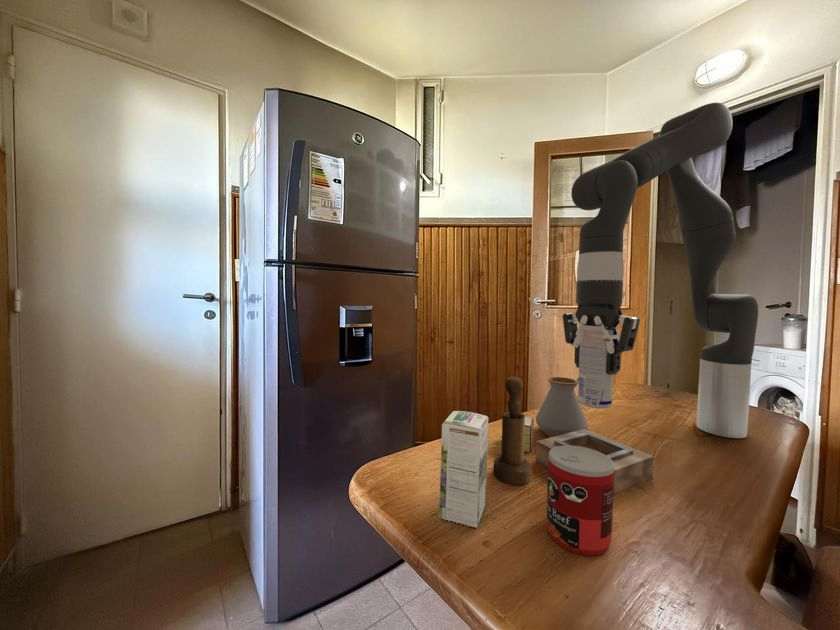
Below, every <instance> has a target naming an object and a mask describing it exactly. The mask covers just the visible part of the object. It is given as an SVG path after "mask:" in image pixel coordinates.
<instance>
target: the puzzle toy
mask: <svg viewBox="0 0 840 630" xmlns="http://www.w3.org/2000/svg"><path fill="white" fill-rule="evenodd" d="M534 421H535V420H534V418H533V417H530V416H525V427H524V453H526V452H527V453H531V452H532V449H533V443H534V424H535V423H534Z"/></svg>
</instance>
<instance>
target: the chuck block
mask: <svg viewBox="0 0 840 630" xmlns="http://www.w3.org/2000/svg"><path fill="white" fill-rule="evenodd" d="M535 444H536V450H535V453H536V454H535V462H537V463H538V464H541V465H542V466H544V467H545V468H547V469H548V456H549V452H550V450H551V449H552V448H554V447H557V446H564V445H571V446H580V447H585V448H589V449H593V450H596V451H598V452H600V453H602V454H604V455H606V456H608V457H609V458H610V459H611V460H612V461H613V463H614V495H616V494H618V493H619V492H622V491H624V490H627V489H629V488H632V487H634V486H637V485H639V484H641V483H644V482H647V481H649V480H652V479H653V474H654V455H652V454H649V453H647V452H643V451H641V450H639V449H636V448H633V447H631V446H628V445H626V444H623V443H621V442H618V441H616V440H613V439H610V438H608V437H606V436H603V435H601V434H598V433H596V432H594V431H591V430H588V429H587V430H586V429H582V430H578V431H574V432H570V433H566V434H562V435H558V436H555V437H548V438H543V439H540V440H536V443H535Z"/></svg>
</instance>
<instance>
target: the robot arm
mask: <svg viewBox="0 0 840 630" xmlns="http://www.w3.org/2000/svg"><path fill="white" fill-rule="evenodd" d="M732 130H733V116H732V113H731V111H730V109H729V107H728V106H726V104H723V103H722V102H710V103H707V104H704V105H701V106H698V107H696V108H694V109H692V110H689V111H686V112H684V113H682V114H680V115H677V116H675V117H672V118H670V119H669V120H667V121H666V122H665V123H663V124H662V126H661V128H660V132H659V136H657V137H654V138H652V139H651V138H650V139H649V140H646V141H645V142H642V143H641V144H639V145H637V146H635V147H632V148H630V149H629V150H627V151H625V152H624V153H622V154H621V155H619V156H618V157H616V158H615V159H612V160H610V161H608V162H606V163H603V164H600V165H598V166H596V167H594V168H591V169H589V170H587V171H585V172H583V173H582V174H580V175H579V176H578V177H577V178H576V180H575V181H574V182H573V185H572V187H571V191H570V192H571V199H572V202H573V204H574V205H575V206H576V207H577V208H578V209H579V210H580V209H581V210H583V211H594V210H598V209H599V211H598V212H597V215H596V216H595V217H594V218H592V219H591V220H589V221H587V222H585V223H584V224H582V226H581V227H580V232H579V243H578V245H579V246H578V247H579V248H578V249H579V250H578V260H577V267H576V291H575V292H576V293H575V302H576V304H577V309H576V311H575V312H571V313H570V312H568V313H563V315H562V323H563V331H564V339H565V343H566V344H569V345H571V346H573V348H574V364H575V366H576V368H577V369H579V357H580V330H581V327H582V326H581V325H588V326H601V327H603V328H602V330H603V333H604V335H603V340H604V341H606V347H607V350H608V352H609V353H607V363H606V373H607V374H610V375H613V376H615V375H617V374H618V372H620V371H621V363H622V361H621V360H622V359H621V358H622V354H623V353H624V352H625V353H626V352H630V351H632V350H634V346H635V342H636V338H637V335H638V329H639V326H640V321H641V320H640V318H639V317H638V316H629V315H628V316H627V315H624V314H623V311H622V309H621V306H622V304H623V293H624V290H623V289H624V269H625V268H624V267H625V264H624V258H623V257H624V256H623V255H624V252H623V250H624V230H625V227H626V224H627V221H628V218H629V215H630V212H631V209H632V206H633V203H634V200H635V197H636V195H637V190H638V189H639V188H641V187H643V186H644V185H645V184H647V183H650V182H651V181H652V180H654V179H655V178H657V177H658V176H660V175H661V174H664V173H665V172H666V173H667V175H668V179H669V182H670V185H671V188H672V189H671V190H672V191H673V196H674V201H675V205H676V210H677V215H678V221H679V228H680V229H679V230H680V233H681V239H682V243H683V246H684V247H683V249H684V253H685V256H686V257H685V258H686V260H687V266H688V272H689V273H688V274H689V280H690V289H691V301H692V312H693V313H692V314H693V317H694V321H695V324H696V325H697V327H698V328H699V329H700V330H701V331H706V332H713V333H723V334H724V333H726V334H727V333H728V334H729V336H728V338H727V340H725V341H724V342H722V343H718V344H714V345H706V346H703V347H702V348H701V349H700V354H699V355H700V356H699V357H700V359H699V373H698V375H699V376H698V395H697V407H696V408H697V410H696V411H697V412H696V427H697V428H698V429H699V430H701V431H703V432H706V433H708V434H711V435H715V436H719V437H724V438H730V439H745V438H746V437H747V436H748V425H749V413H750V412H749V408H750V397H751V396H750V394H751V393H750V391H751V376H752V375H751V374H752V360H753V354H754V350H755V344H756V343H755V341H756V333H757V327H758V321H759V320H758V319H759V306H758V301H757V299H756V298H755V297H754V296H753V295H752V294H743V293H742V294H740V293H739V294H738V293H737V294H736V293H735V294H734V293H728V294H727V293H720V294H718V293H716V289H715V280H716V275H717V273H718V271H719V269H720V268H721V266H722V265H723V263H724V262H725V260H726V258H727V257H728V255H729V254H730V252H731V250H732V249H733V247H734V245H735V242H736V238H737V233H736V227H735V221H734V215H733V211H732V209H731V207H730V205H729V204H728V203H727V202H726V200H724V199H723V198H722V197H721V196H720V195H718V194H717V193H716V192H715V191H714V190H713V189H711V188H710V187H709V186H708V185H706V183H704V182H703V180H702V179H701V178H700V176H699V175H698V173H697V169H696V168H695V166H694V161H693V158H694V157H697V156H700V155H704V154H707V153H710V152H713V151H715V150H717V149H719V148H720V147H722V146H723V145H724V144H725V143H726V142H728V140H729V138H730V136H731V134H732ZM578 323H579V326H578ZM619 324H620V327H621V331H620V333H619V329H618V328H617V326H618V325H619ZM606 327H607V328H606ZM607 330H614V331H615V335H609V334H608V331H607ZM613 340H614V343H613Z"/></svg>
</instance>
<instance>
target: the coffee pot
mask: <svg viewBox="0 0 840 630" xmlns="http://www.w3.org/2000/svg"><path fill="white" fill-rule="evenodd" d="M547 381H548V382H549V385H550V388H549V391H548V392H547V394H546V397H544V400H543V402H542V405H540V408H539V411H538V412H537V413H536V417H535V422H536V425H537V426H538V427H539V429H540V430H541V431H542V432H543V433H544V435H546V436H548V438H551V437H555V436H558V435H562V434H566V433H570V432H574V431H578V430H582V429H586V430H588V428H589V423H588V421H587V419H586V417H585V413H584V411H583V408H582V406H581V403H580V402H579V401H578V395H577V394H576V391H575V388H576V387H577V386H578V385H579V377H578V378H577V379H573V378H570V377H562V376H552V377H548V379H547Z"/></svg>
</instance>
